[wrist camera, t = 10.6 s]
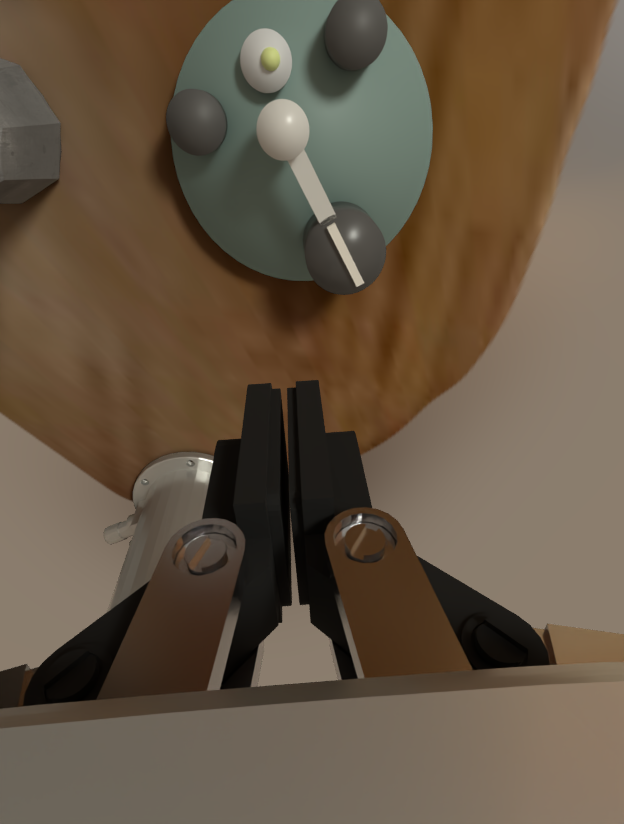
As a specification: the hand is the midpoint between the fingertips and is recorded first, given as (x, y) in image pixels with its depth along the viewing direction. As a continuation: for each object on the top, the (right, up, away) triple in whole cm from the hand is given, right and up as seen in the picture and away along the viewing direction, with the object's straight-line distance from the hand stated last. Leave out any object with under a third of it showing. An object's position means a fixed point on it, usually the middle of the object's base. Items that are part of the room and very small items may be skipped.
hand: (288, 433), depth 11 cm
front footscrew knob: (+1, +16, +22) cm, 28 cm away
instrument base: (0, +19, +22) cm, 29 cm away
